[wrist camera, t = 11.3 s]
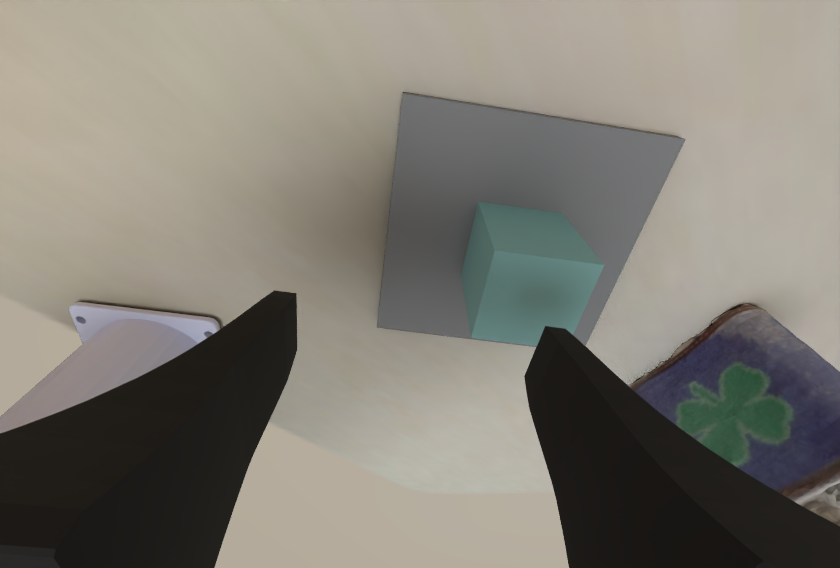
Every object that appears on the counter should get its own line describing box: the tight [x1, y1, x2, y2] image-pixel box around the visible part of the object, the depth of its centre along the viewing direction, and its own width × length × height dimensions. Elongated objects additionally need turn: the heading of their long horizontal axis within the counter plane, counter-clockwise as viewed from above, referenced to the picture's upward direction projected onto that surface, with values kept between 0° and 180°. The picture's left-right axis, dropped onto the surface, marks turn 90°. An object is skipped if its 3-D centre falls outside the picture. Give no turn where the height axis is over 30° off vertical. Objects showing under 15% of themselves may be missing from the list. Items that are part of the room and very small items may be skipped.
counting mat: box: [377, 92, 686, 347], centre depth 19 cm, size 12×12×1 cm
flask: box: [629, 303, 840, 526], centre depth 19 cm, size 9×3×11 cm, turn 148°
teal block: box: [461, 201, 604, 346], centre depth 17 cm, size 4×4×5 cm
